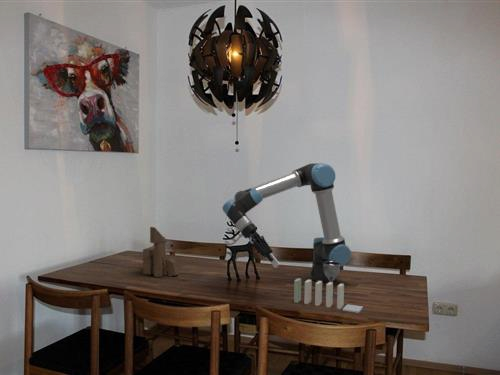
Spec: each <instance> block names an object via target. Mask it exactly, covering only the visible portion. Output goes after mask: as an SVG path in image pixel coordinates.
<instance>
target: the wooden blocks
mask: <svg viewBox="0 0 500 375" xmlns="http://www.w3.org/2000/svg"><path fill="white" fill-rule="evenodd" d="M149 232H150V233H149V238H150V239H149V241H150V242H149V243H150V244H153V245H152V246H150V247H146V248H144V249H142V261H143V262H142V267H143V268H142V271H143V272H142V273H143V274H142V275H153V276H154V277H155V278H161V277H163V276H168V277H175V276H176V275H180V270H179V266H178V265H179V264H178V261H177V260H176V259H174V258H172V257H171V258H167V254H166V253H167V252H166V243H167V242H168V240H167V239H166V236H163V235H162V234H161V232H160V231H159V230H158V229H157V227H154V226H150V227H149Z"/></svg>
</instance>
